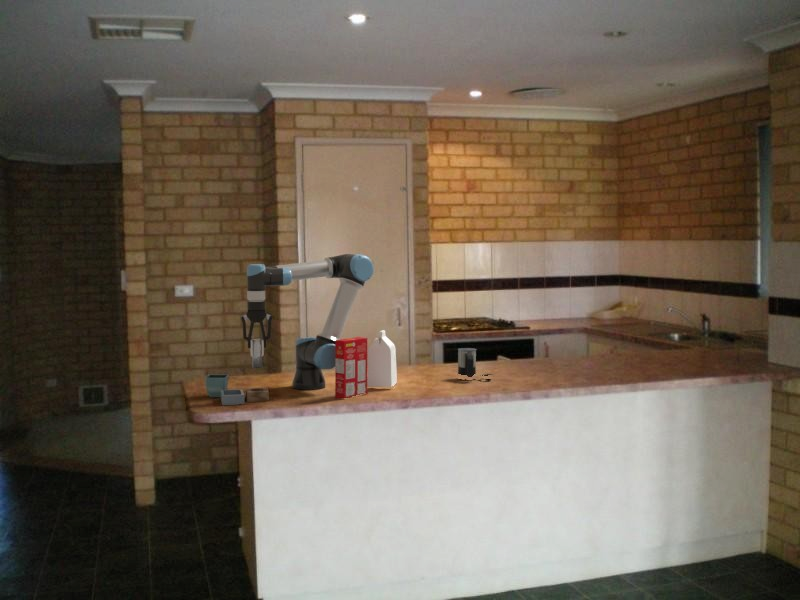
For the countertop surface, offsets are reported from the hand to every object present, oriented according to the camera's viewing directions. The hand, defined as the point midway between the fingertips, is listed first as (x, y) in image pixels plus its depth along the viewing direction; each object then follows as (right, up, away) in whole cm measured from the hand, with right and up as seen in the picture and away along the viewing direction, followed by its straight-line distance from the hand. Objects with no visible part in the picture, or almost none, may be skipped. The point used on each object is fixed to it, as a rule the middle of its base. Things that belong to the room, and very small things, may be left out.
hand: (257, 355), depth 359 cm
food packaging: (+40, -18, +10) cm, 45 cm away
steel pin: (0, -5, 0) cm, 5 cm away
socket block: (0, -19, +2) cm, 19 cm away
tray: (-10, -19, -4) cm, 22 cm away
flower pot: (-18, -18, +7) cm, 27 cm away
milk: (+52, -17, +32) cm, 63 cm away
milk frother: (+97, -15, +52) cm, 111 cm away
